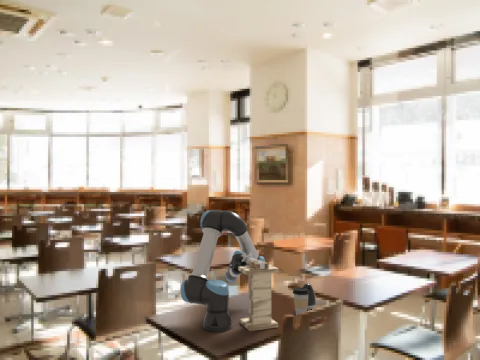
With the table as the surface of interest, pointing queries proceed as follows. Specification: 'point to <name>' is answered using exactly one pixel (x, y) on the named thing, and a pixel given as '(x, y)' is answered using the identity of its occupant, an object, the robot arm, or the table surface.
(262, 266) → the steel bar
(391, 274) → the table surface
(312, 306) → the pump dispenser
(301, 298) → the coffee cup
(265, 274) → the birch stand
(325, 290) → the table surface
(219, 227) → the robot arm
